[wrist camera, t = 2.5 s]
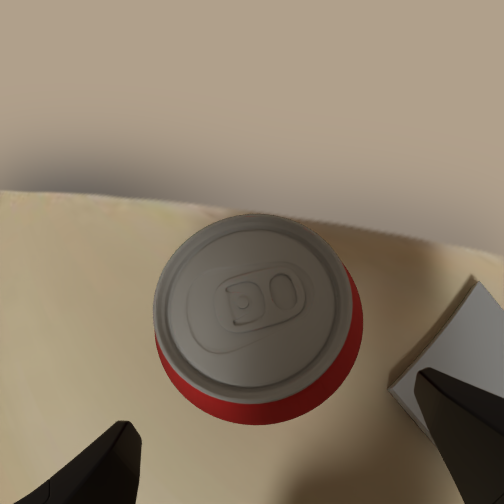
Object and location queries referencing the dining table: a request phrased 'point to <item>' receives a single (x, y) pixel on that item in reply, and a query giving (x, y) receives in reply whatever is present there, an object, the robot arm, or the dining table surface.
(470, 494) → the robot arm
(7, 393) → the dining table surface
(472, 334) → the trivet
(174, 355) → the beverage can
